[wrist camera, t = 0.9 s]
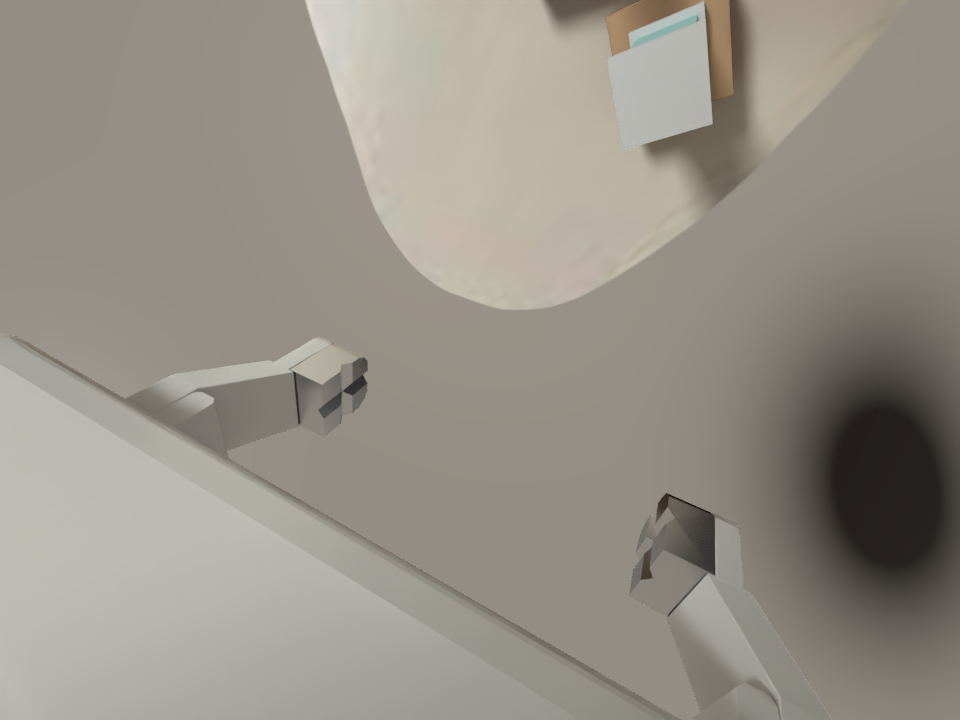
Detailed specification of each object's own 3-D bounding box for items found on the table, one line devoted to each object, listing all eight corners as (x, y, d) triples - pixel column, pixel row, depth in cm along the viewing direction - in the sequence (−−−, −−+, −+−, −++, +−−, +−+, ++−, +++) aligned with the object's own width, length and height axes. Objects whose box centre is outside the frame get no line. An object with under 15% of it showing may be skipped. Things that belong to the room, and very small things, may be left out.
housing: (640, 103, 35) (622, 150, 27) (629, 32, 33) (606, 60, 24) (709, 80, 33) (712, 124, 25) (704, 0, 30) (705, 20, 22)
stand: (630, 116, 40) (624, 128, 37) (612, 12, 35) (605, 17, 33) (730, 83, 36) (733, 94, 33) (725, -39, 31) (727, -38, 29)
